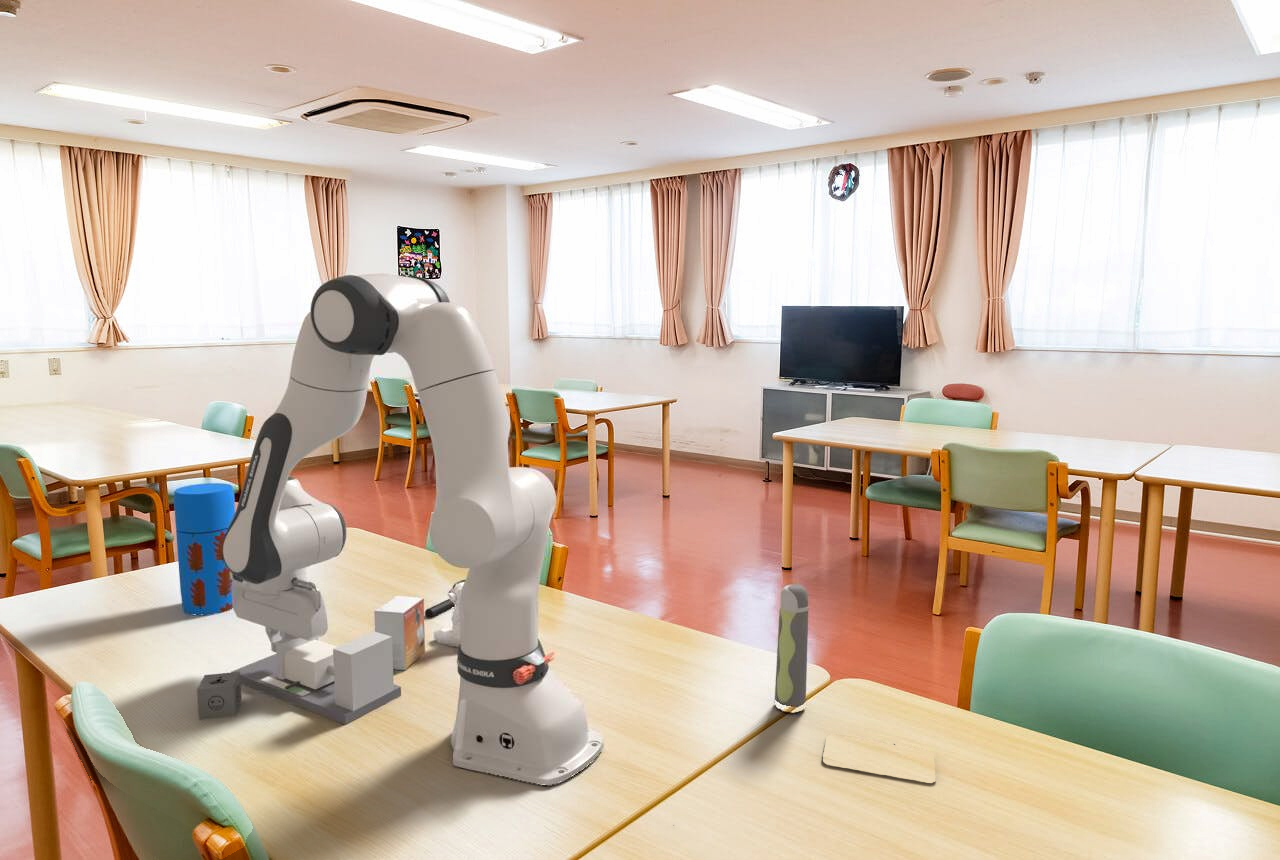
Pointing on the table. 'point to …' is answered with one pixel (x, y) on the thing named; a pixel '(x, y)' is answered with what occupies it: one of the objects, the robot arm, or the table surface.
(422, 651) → the small box
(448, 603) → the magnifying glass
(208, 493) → the thermos
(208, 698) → the dice cube
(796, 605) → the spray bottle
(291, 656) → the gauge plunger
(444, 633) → the white creature statuette
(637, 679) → the table surface
